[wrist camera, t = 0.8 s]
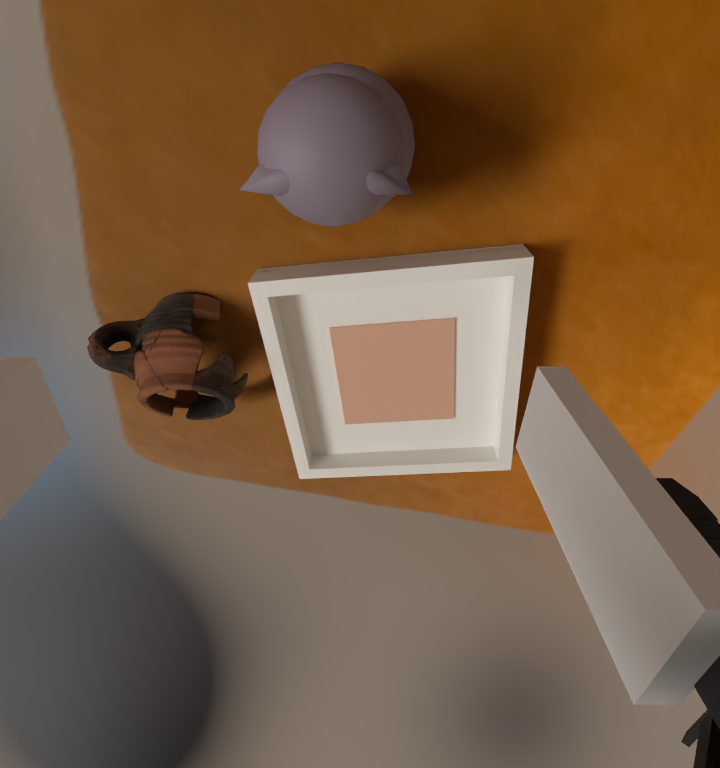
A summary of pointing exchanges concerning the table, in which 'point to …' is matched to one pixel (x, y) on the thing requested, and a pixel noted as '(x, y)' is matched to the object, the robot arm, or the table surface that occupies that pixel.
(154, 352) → the pottery mug
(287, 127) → the cat figurine
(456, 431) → the tray
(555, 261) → the table surface
